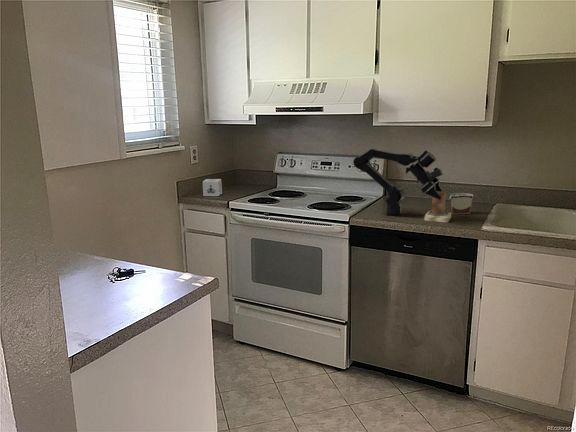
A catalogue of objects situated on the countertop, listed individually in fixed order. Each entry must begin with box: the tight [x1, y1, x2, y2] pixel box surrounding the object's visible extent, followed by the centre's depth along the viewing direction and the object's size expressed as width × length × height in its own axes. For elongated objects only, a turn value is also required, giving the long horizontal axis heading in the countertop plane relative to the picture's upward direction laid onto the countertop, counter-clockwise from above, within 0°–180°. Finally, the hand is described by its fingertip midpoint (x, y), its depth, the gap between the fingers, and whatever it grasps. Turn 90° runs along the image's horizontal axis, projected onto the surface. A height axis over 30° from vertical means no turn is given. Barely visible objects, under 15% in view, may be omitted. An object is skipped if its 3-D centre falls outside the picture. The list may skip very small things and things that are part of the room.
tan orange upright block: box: [431, 190, 447, 215], centre depth 233 cm, size 6×6×11 cm
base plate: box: [424, 209, 452, 223], centre depth 235 cm, size 11×11×3 cm
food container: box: [449, 192, 475, 215], centre depth 247 cm, size 12×6×10 cm, turn 92°
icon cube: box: [202, 178, 223, 196], centre depth 305 cm, size 10×10×10 cm
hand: (442, 197), depth 232 cm, fingers open, 9 cm apart
